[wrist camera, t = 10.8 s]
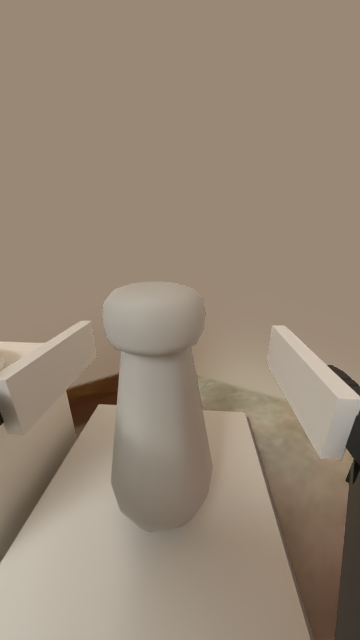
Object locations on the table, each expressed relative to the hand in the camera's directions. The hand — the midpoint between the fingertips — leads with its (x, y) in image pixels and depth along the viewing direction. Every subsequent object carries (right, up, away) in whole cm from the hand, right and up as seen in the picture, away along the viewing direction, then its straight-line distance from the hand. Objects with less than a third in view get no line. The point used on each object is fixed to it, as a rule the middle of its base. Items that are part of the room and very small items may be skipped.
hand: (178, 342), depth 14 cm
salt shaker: (-1, -9, -1) cm, 10 cm away
